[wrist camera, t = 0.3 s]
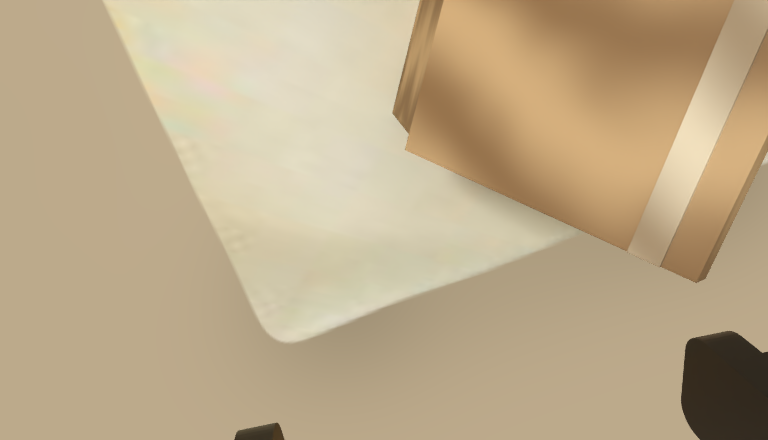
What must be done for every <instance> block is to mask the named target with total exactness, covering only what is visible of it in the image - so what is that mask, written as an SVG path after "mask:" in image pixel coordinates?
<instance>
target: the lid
mask: <svg viewBox="0 0 768 440" xmlns="http://www.w3.org/2000/svg"><path fill="white" fill-rule="evenodd" d="M405 150H407V151H409V152H411V153H413V154H415V155H418V156H420V157H422V158H424V159H426V160H428V161H431V162H433V163H435V164H437V165H439V166H442V167H444V168H446V169H448V170H450V171H453V172H455V173H457V174H459V175H461V176H463V177H466V178H468V179H470V180H472V181H474V182H477V183H479V184H481V185H483V186H485V187H488V188H490V189H492V190H494V191H496V192H498V193H501V194H503V195H505V196H507V197H509V198H512V199H514V200H516V201H518V202H520V203H523V204H525V205H527V206H529V207H531V208H533V209H536V210H538V211H540V212H542V213H544V214H547V215H549V216H551V217H553V218H555V219H558V220H560V221H562V222H564V223H566V224H568V225H571V226H573V227H575V228H577V229H579V230H582V231H584V232H586V233H588V234H590V235H593V236H595V237H597V238H599V239H601V240H604V241H606V242H608V243H610V244H612V245H615V246H617V247H619V248H621V249H623V250H625V251H627V253H629V254H632V255H634V256H636V257H638V258H640V259H643V260H645V261H647V262H649V263H651V264H653V265H656V266H658V267H663V268H665V269H667V270H669V271H672V272H674V273H676V274H678V275H680V276H682V277H684V278H687V279H689V280H691V281H693V282H695V283H697V282H699V281H701V280H704V279H705V278H706V276H707V274H708V272H709V270H710V268H711V266H712V264H713V262H714V259H715V258H716V256H717V253H718V252H719V249H720V247H721V245H722V243H723V241H724V239H725V237H726V235H727V233H728V231H729V229H730V227H731V225H732V223H733V221H734V219H735V217H736V215H737V213H738V211H739V209H740V207H741V205H742V202H743V200H744V198H745V196H746V194H747V192H748V190H749V188H750V186H751V184H752V182H753V180H754V178H755V176H756V174H757V172H758V170H759V168H760V166H761V164H762V162H763V160H764V157H765V155H766V153H767V151H768V0H444V1H443V5H442V9H441V13H440V17H439V20H438V24H437V28H436V32H435V36H434V40H433V44H432V47H431V51H430V55H429V59H428V63H427V67H426V71H425V74H424V78H423V82H422V86H421V90H420V94H419V98H418V102H417V105H416V109H415V113H414V117H413V121H412V125H411V129H410V132H409V136H408V140H407V144H406V148H405Z"/></svg>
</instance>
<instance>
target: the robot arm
mask: <svg viewBox="0 0 768 440" xmlns="http://www.w3.org/2000/svg"><path fill="white" fill-rule="evenodd" d="M681 404H682V409H683V413H684V415H685V418H686V420H687V422H688V424H689V426H690V427H691V429H692V430H693V432H694V433H695V434H696V436H697V437H698V438H699V439H700V440H768V352H764V353H762V352H760V351H759V350H758V349H757V348H755V347H754V346H753V345H752V344H750V343H749V342H748V341H747V340H745V339H744V338H743V337H742V336H740V335H738V334H737V333H735V332H732V331H726V332H721V333H716V334H712V335H707V336H701V337H696V338H692V339H690V340H689V341H688V342H687V344H686V349H685V360H684V371H683V383H682V395H681ZM235 440H284V437H283V434H282V430H281V428H280V425H279V424H278V423H273V424H268V425H263V426H258V427H254V428H249V429H244V430H239V431H238V432H237V433H236V437H235Z"/></svg>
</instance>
